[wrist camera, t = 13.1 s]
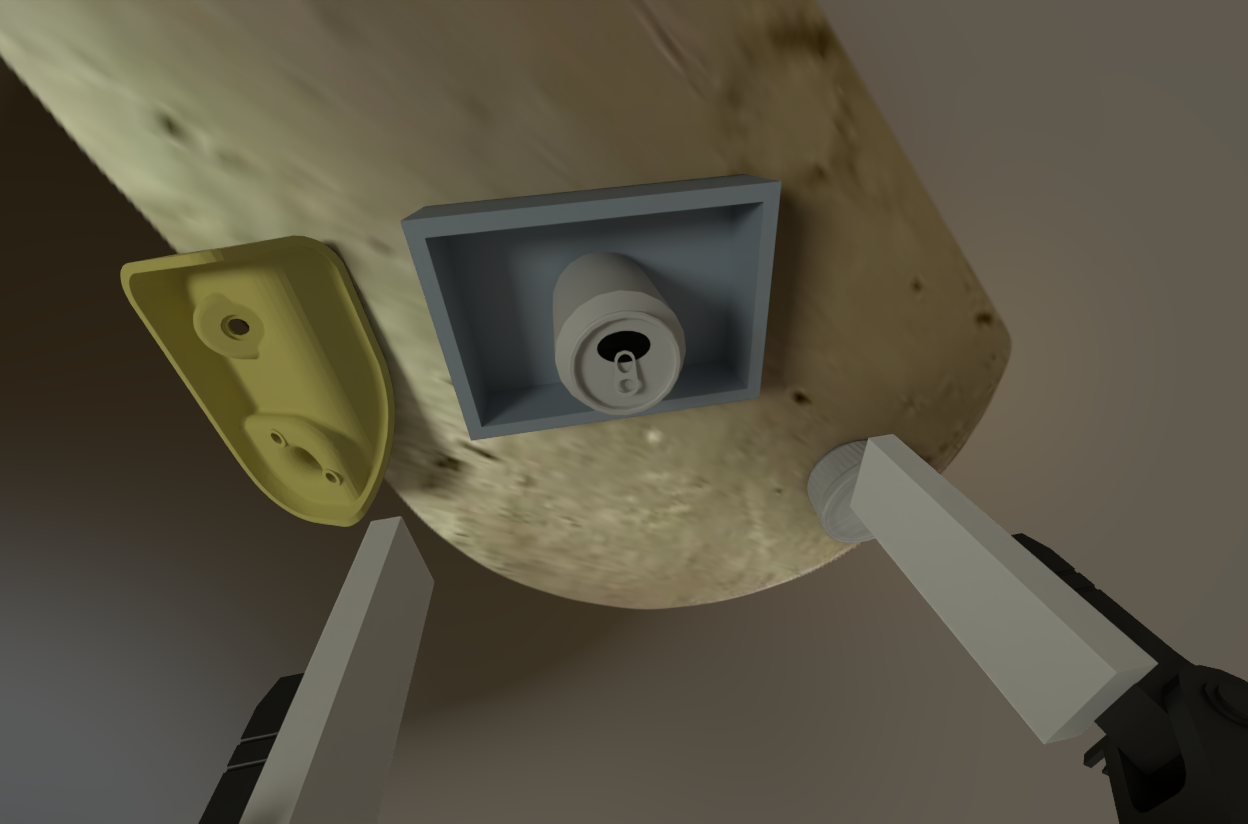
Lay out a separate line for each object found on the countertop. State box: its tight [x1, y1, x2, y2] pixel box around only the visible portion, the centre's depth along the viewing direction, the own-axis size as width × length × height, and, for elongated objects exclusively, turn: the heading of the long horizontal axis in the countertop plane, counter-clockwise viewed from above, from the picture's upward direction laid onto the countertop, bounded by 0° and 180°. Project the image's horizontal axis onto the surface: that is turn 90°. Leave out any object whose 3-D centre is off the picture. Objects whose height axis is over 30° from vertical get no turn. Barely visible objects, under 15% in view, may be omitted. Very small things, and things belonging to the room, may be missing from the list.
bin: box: [401, 174, 782, 441], centre depth 32 cm, size 15×22×6 cm
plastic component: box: [121, 236, 395, 527], centre depth 33 cm, size 20×7×10 cm
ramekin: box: [807, 440, 875, 543], centre depth 47 cm, size 11×11×5 cm
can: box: [552, 251, 686, 416], centre depth 29 cm, size 8×8×12 cm
